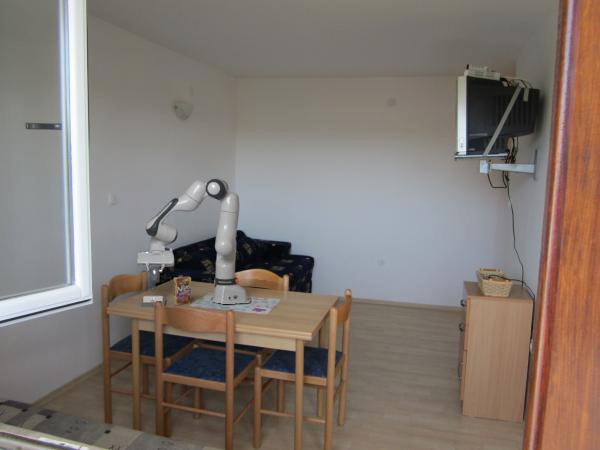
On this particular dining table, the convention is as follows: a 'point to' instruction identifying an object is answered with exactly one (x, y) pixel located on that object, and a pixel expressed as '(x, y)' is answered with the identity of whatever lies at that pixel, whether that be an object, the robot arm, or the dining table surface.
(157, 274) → the steel weight
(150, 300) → the scale
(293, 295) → the dining table surface
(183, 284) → the candy box
